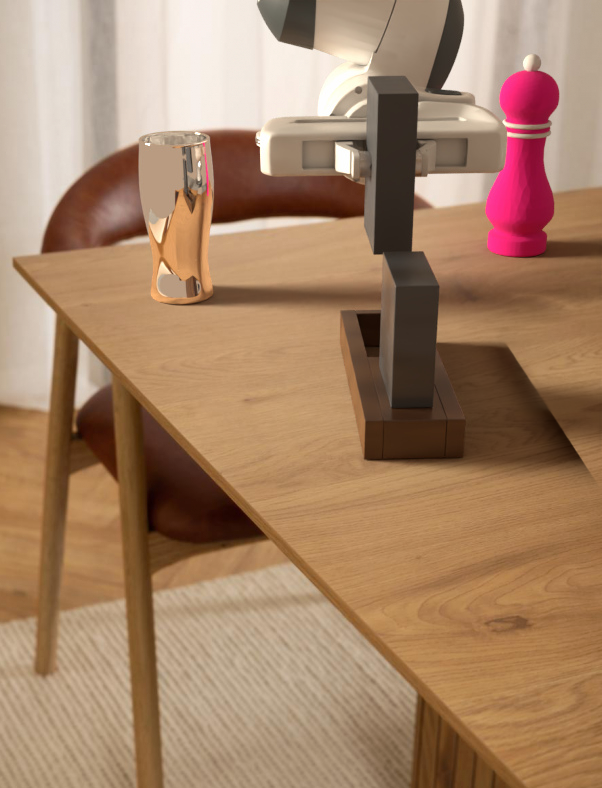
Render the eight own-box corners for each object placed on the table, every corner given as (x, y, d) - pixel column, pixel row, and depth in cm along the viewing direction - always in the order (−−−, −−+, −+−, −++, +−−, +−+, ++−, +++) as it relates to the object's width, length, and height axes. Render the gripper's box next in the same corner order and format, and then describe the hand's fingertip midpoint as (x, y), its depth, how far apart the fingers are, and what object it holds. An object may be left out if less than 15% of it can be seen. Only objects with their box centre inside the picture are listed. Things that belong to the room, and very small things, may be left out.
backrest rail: (339, 342, 104) (341, 206, 98) (419, 341, 104) (426, 205, 98) (364, 459, 83) (368, 296, 78) (463, 457, 83) (474, 294, 78)
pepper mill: (479, 239, 131) (492, 49, 122) (544, 239, 131) (562, 48, 122) (486, 258, 125) (501, 59, 116) (555, 259, 125) (575, 59, 115)
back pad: (363, 226, 99) (367, 76, 93) (399, 226, 99) (405, 75, 93) (373, 255, 92) (377, 93, 86) (411, 254, 92) (419, 93, 86)
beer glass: (131, 295, 116) (120, 138, 109) (185, 278, 120) (177, 127, 113) (178, 311, 111) (170, 149, 104) (232, 293, 116) (227, 137, 109)
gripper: (254, 95, 102) (256, 127, 90) (490, 91, 102) (524, 123, 90) (255, 169, 105) (257, 209, 93) (485, 165, 105) (517, 205, 93)
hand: (391, 167), depth 91 cm, fingers closed on back pad, 3 cm apart
